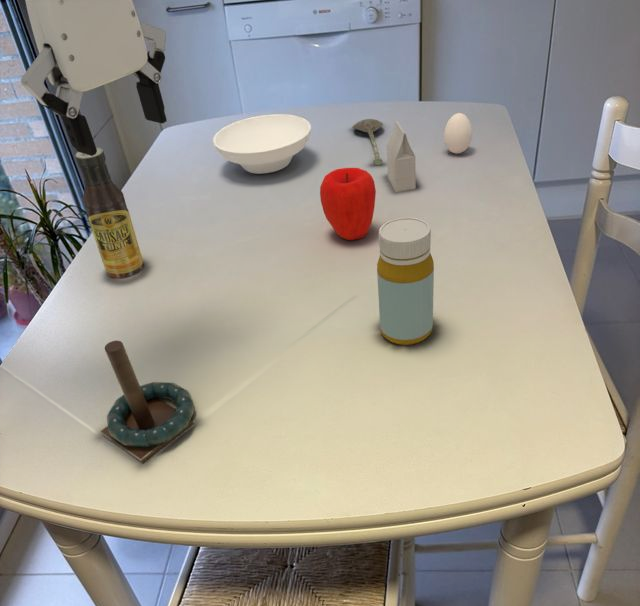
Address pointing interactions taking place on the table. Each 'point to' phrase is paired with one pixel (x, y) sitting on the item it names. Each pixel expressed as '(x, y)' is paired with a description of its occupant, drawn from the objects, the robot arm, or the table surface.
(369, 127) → the soupspoon
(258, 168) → the bowl
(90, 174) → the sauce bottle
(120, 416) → the ring
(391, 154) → the milk carton
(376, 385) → the table surface
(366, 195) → the apple
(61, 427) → the table surface
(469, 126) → the egg
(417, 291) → the bottle
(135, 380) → the peg stand
